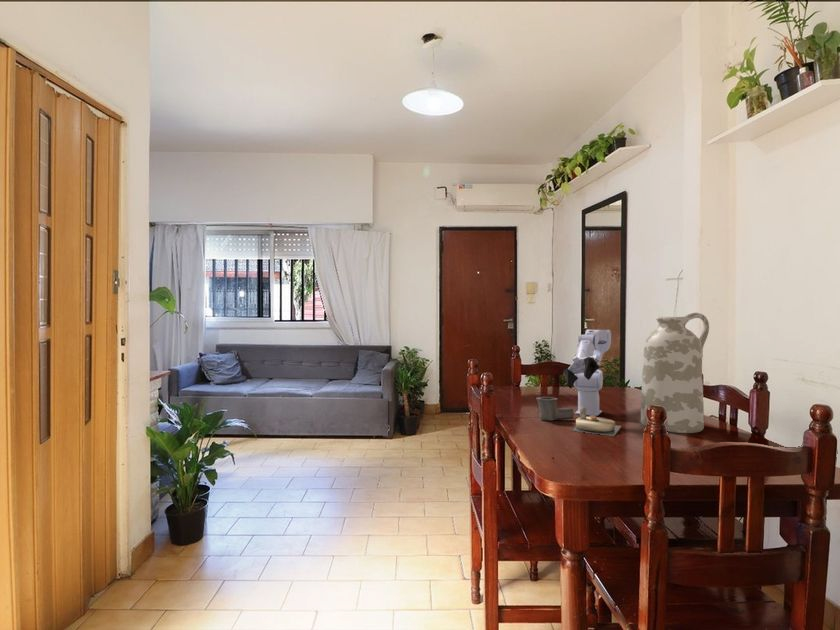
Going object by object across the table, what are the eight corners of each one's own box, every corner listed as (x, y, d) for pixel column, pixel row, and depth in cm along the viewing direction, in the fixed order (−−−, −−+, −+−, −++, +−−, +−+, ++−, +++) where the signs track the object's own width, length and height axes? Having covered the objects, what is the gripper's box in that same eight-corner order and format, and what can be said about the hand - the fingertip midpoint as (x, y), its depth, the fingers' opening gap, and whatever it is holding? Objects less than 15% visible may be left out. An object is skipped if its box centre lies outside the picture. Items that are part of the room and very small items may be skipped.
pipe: (575, 422, 164) (575, 399, 164) (538, 422, 164) (538, 399, 164) (570, 418, 170) (570, 396, 170) (534, 418, 170) (534, 396, 170)
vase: (644, 431, 151) (644, 312, 151) (637, 418, 169) (637, 312, 168) (716, 436, 145) (717, 312, 144) (701, 422, 162) (702, 312, 162)
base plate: (581, 422, 163) (581, 421, 163) (621, 426, 156) (621, 426, 156) (571, 430, 151) (571, 430, 151) (614, 436, 145) (614, 435, 145)
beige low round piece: (580, 421, 162) (580, 405, 162) (617, 425, 156) (617, 408, 156) (571, 428, 152) (571, 411, 152) (611, 433, 146) (611, 415, 146)
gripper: (561, 358, 174) (553, 382, 164) (592, 340, 164) (586, 365, 154) (574, 370, 174) (567, 395, 165) (606, 354, 165) (601, 379, 155)
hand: (577, 381), depth 159 cm, fingers open, 7 cm apart
